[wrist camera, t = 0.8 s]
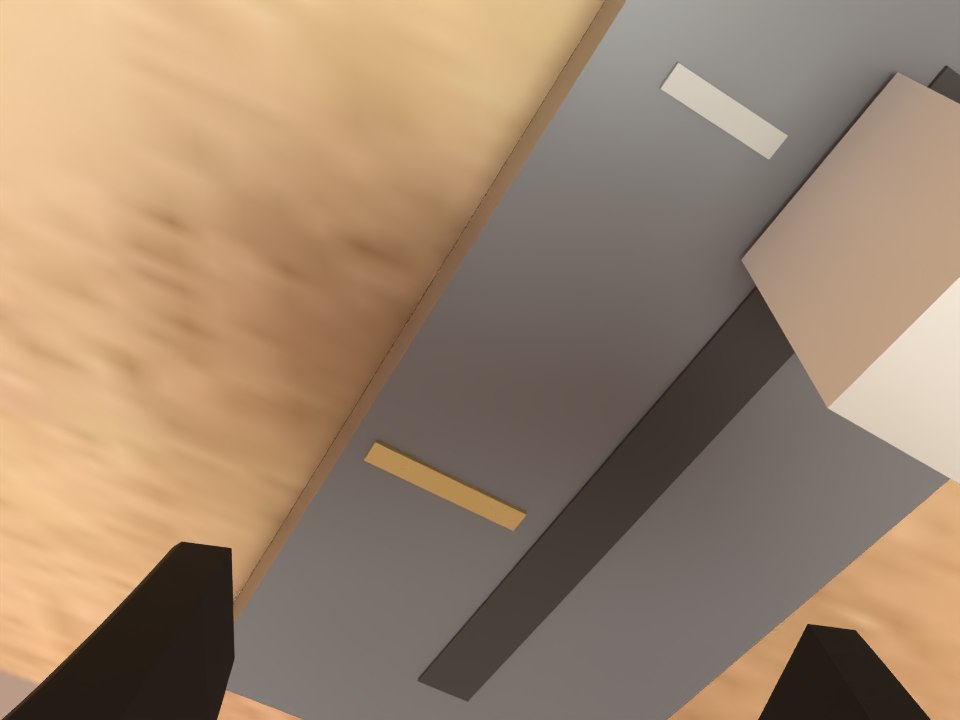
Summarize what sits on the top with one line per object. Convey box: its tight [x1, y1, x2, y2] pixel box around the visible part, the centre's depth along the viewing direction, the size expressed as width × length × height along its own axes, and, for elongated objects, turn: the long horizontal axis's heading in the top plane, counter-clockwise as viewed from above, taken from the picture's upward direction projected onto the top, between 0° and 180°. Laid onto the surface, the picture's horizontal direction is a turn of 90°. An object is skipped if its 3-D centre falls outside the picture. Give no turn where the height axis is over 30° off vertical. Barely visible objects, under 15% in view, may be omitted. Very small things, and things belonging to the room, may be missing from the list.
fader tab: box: [742, 72, 960, 484], centre depth 13 cm, size 3×4×5 cm
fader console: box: [226, 0, 960, 720], centre depth 19 cm, size 12×26×2 cm, turn 150°
